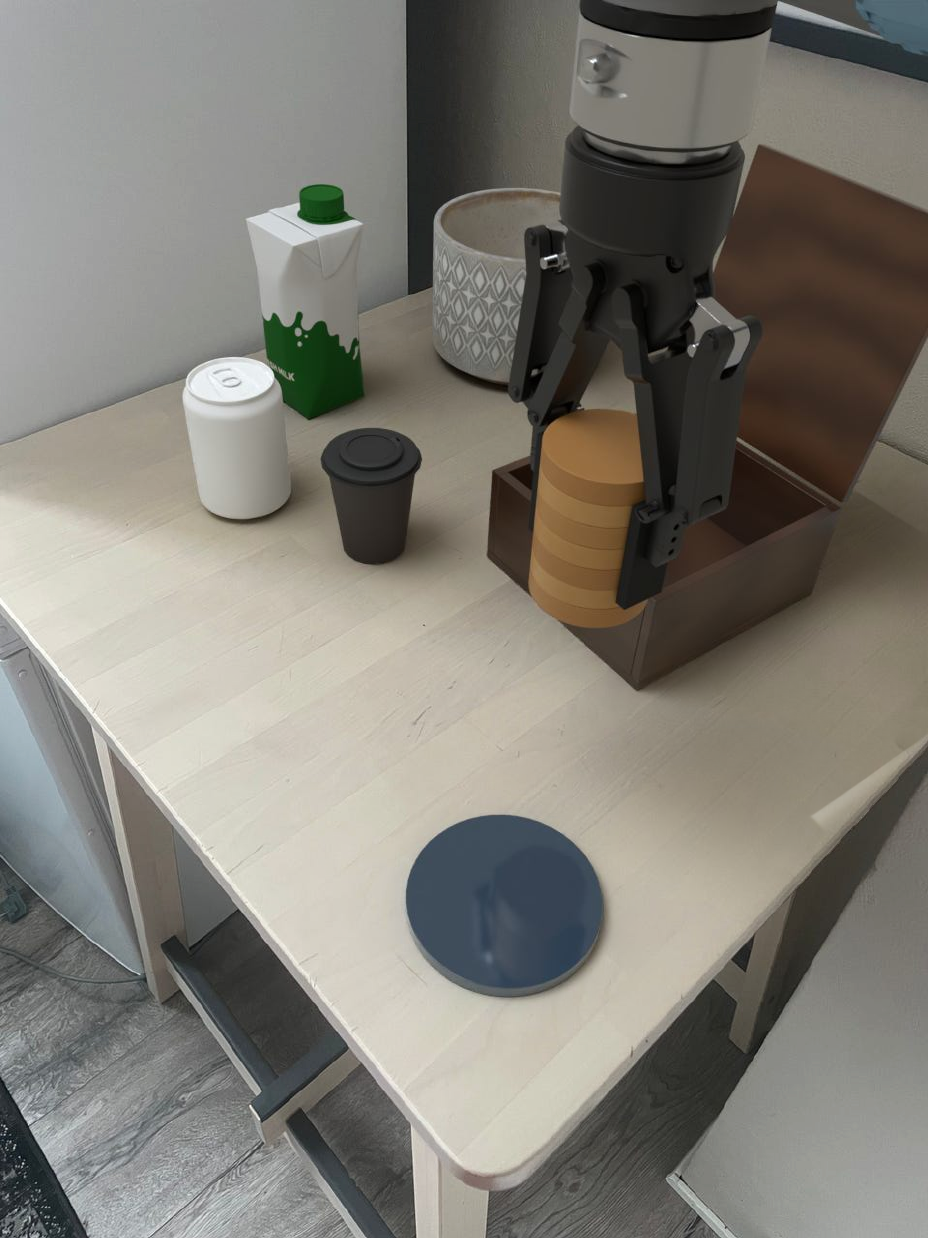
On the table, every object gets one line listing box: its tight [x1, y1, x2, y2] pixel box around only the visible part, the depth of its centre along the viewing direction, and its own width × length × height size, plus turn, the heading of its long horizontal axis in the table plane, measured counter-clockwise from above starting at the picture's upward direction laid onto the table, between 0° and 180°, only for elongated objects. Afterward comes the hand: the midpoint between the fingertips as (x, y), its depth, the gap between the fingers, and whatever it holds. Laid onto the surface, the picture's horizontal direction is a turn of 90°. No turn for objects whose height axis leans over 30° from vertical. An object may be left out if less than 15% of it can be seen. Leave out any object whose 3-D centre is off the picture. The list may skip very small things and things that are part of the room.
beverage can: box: [182, 356, 292, 520], centre depth 88 cm, size 8×8×12 cm
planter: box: [431, 187, 561, 386], centre depth 109 cm, size 19×19×14 cm
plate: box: [405, 814, 604, 998], centre depth 63 cm, size 12×12×1 cm
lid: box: [694, 143, 928, 504], centre depth 80 cm, size 21×19×5 cm
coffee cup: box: [320, 427, 423, 565], centre depth 85 cm, size 8×8×10 cm
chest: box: [486, 412, 843, 691], centre depth 83 cm, size 20×19×9 cm
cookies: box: [528, 408, 648, 628], centre depth 56 cm, size 7×7×10 cm
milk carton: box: [245, 183, 365, 420], centre depth 99 cm, size 9×9×20 cm
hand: (592, 558), depth 58 cm, fingers closed on cookies, 7 cm apart
